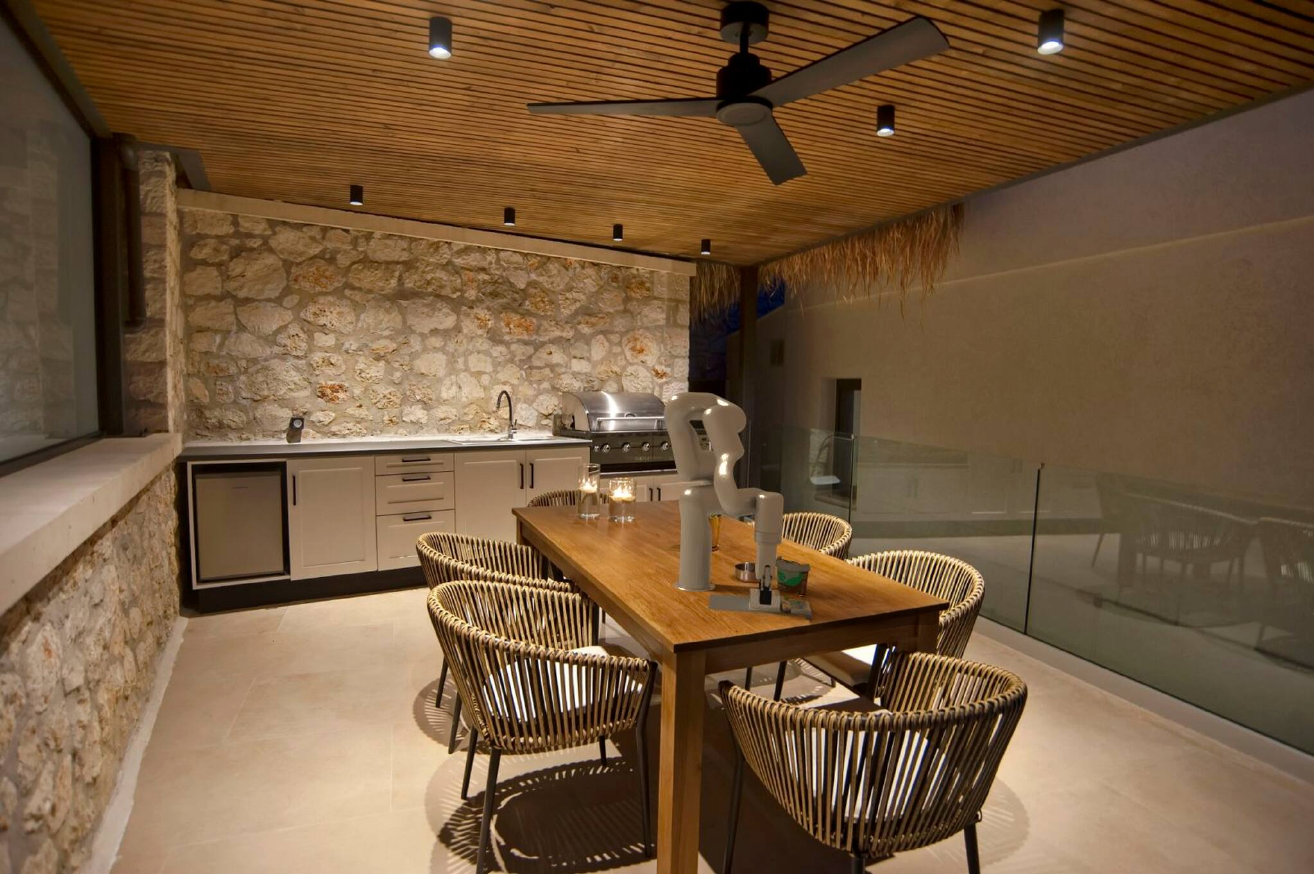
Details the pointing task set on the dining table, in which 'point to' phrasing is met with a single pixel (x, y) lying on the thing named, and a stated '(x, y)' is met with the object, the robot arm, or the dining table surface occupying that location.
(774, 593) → the tan studded block
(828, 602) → the dining table surface
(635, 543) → the dining table surface
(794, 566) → the food container
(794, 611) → the fixed leaf
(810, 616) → the board
